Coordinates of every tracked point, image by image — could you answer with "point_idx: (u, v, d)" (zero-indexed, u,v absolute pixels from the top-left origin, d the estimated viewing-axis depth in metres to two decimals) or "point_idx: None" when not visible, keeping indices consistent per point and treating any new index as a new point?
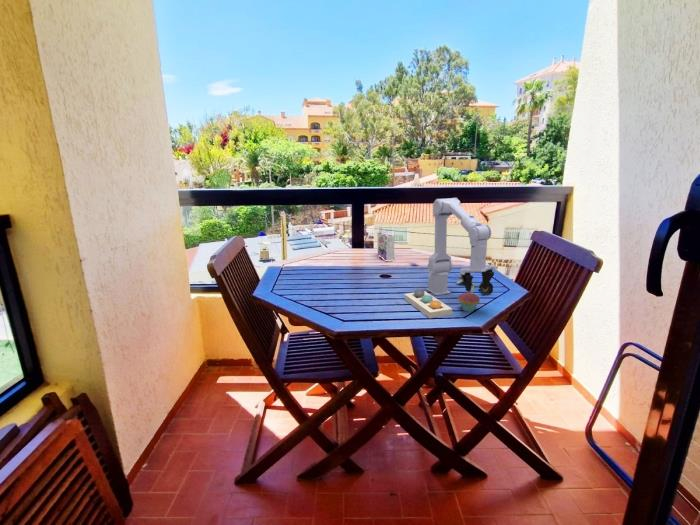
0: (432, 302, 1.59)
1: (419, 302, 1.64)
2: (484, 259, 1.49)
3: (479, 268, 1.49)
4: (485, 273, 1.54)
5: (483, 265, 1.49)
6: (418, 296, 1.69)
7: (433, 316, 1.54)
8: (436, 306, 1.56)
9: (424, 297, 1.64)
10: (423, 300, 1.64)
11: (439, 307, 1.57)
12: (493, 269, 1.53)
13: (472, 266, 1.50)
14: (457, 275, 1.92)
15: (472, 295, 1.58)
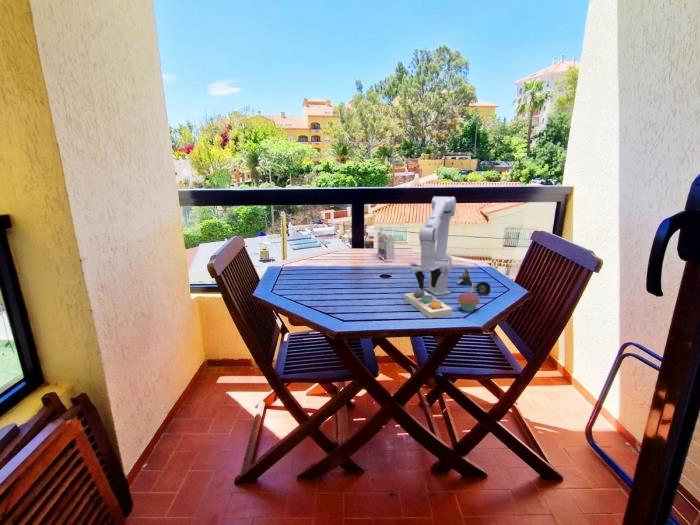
0: (432, 302, 1.59)
1: (419, 302, 1.64)
2: (432, 259, 1.58)
3: (428, 267, 1.58)
4: (433, 272, 1.63)
5: (432, 264, 1.58)
6: (418, 296, 1.69)
7: (433, 316, 1.54)
8: (436, 306, 1.56)
9: (424, 297, 1.64)
10: (423, 300, 1.64)
11: (439, 307, 1.57)
12: (443, 268, 1.63)
13: (422, 265, 1.60)
14: (457, 275, 1.92)
15: (472, 295, 1.58)
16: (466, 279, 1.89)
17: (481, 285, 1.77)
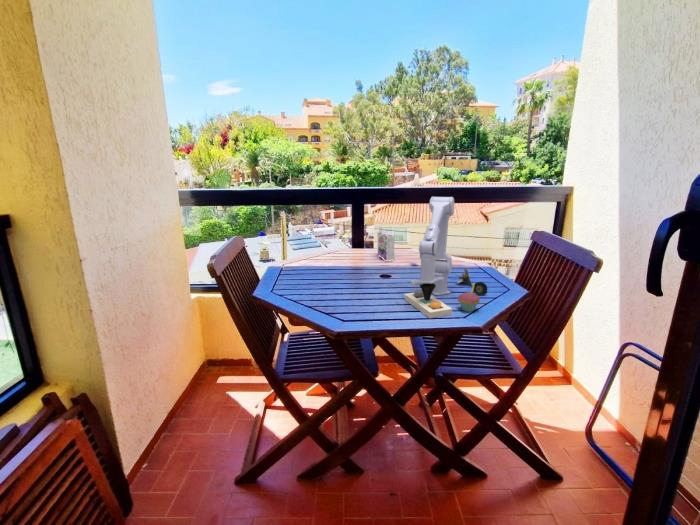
0: (432, 302, 1.59)
1: (419, 302, 1.64)
2: (432, 272, 1.59)
3: (428, 280, 1.60)
4: None
5: (432, 277, 1.60)
6: (418, 296, 1.69)
7: (433, 316, 1.54)
8: (436, 306, 1.56)
9: (424, 300, 1.65)
10: None
11: (439, 307, 1.57)
12: (442, 281, 1.64)
13: (422, 278, 1.61)
14: (457, 275, 1.93)
15: (472, 295, 1.58)
16: (465, 279, 1.89)
17: (478, 285, 1.77)
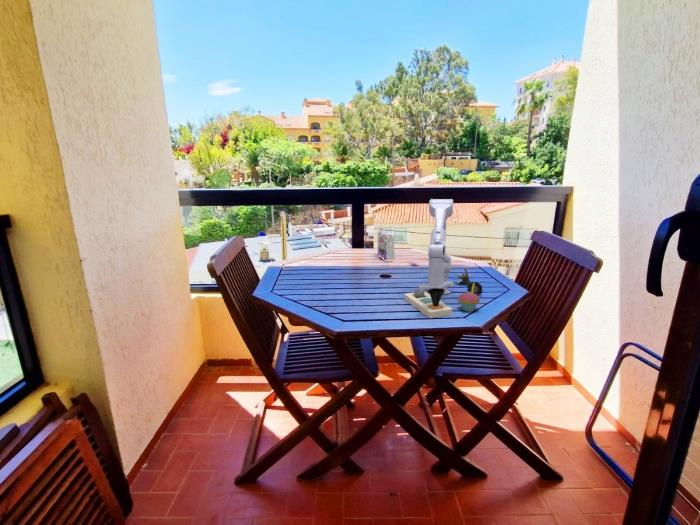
0: (432, 305, 1.59)
1: (419, 302, 1.64)
2: (441, 277, 1.53)
3: (437, 285, 1.53)
4: None
5: (440, 282, 1.53)
6: (418, 296, 1.69)
7: (433, 316, 1.54)
8: None
9: (424, 300, 1.65)
10: None
11: None
12: (451, 285, 1.57)
13: (430, 283, 1.55)
14: None
15: (472, 295, 1.58)
16: (464, 279, 1.89)
17: None
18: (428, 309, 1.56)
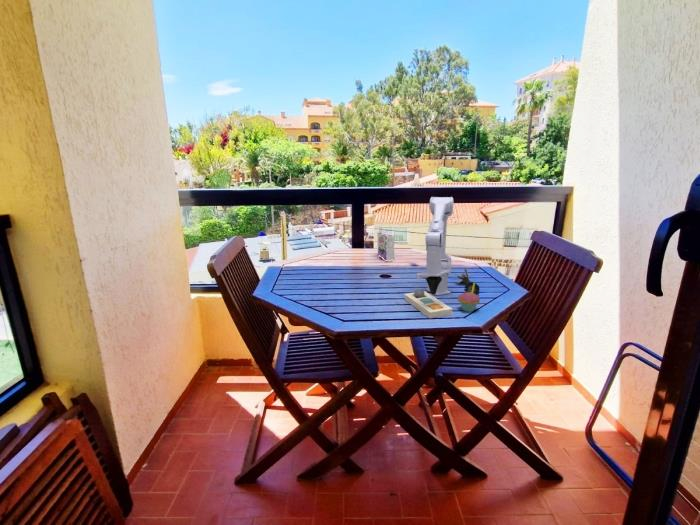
0: (432, 305, 1.59)
1: (419, 302, 1.64)
2: (438, 265, 1.54)
3: (434, 273, 1.54)
4: None
5: (438, 270, 1.54)
6: (418, 296, 1.69)
7: (433, 316, 1.54)
8: None
9: (424, 300, 1.65)
10: None
11: None
12: (449, 274, 1.59)
13: (428, 271, 1.56)
14: None
15: (472, 295, 1.58)
16: (464, 279, 1.89)
17: (471, 285, 1.77)
18: (428, 309, 1.56)
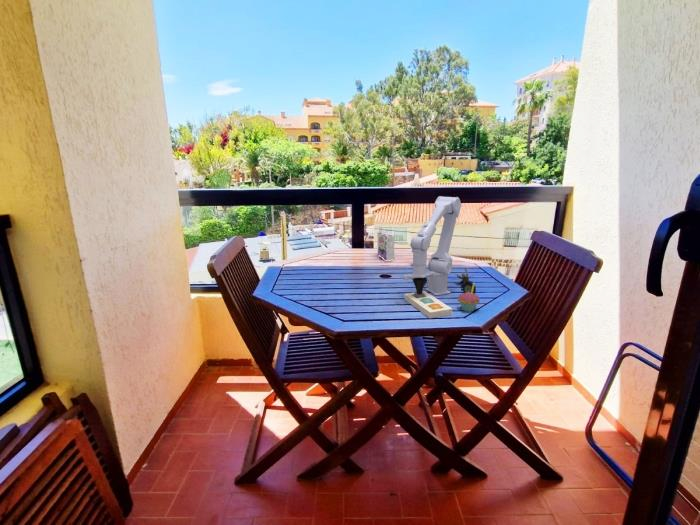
0: (432, 305, 1.59)
1: (419, 302, 1.64)
2: (424, 267, 1.66)
3: (420, 274, 1.66)
4: None
5: (423, 272, 1.66)
6: None
7: (433, 316, 1.54)
8: None
9: (424, 300, 1.65)
10: None
11: None
12: (434, 275, 1.70)
13: (414, 272, 1.67)
14: (457, 274, 1.94)
15: (472, 295, 1.58)
16: (463, 279, 1.90)
17: (467, 285, 1.77)
18: (428, 309, 1.56)
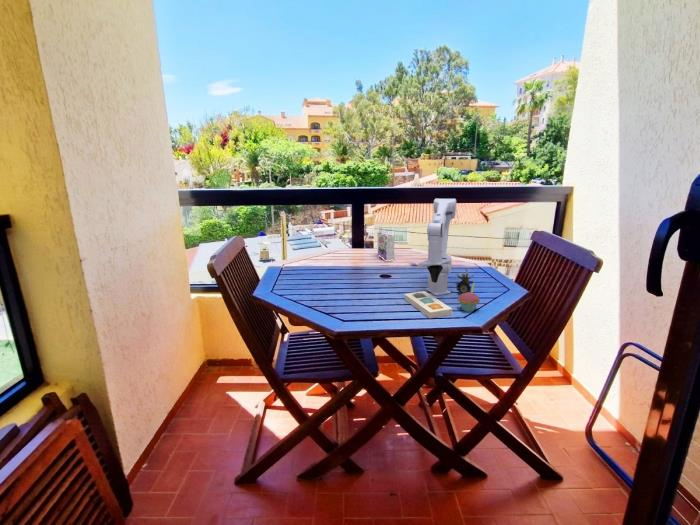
0: (432, 305, 1.59)
1: (419, 302, 1.64)
2: (440, 254, 1.62)
3: (435, 262, 1.62)
4: None
5: (439, 259, 1.62)
6: None
7: (433, 316, 1.54)
8: None
9: (424, 300, 1.65)
10: None
11: None
12: (449, 263, 1.66)
13: (429, 260, 1.64)
14: (458, 274, 1.94)
15: (472, 295, 1.58)
16: (463, 279, 1.90)
17: (463, 285, 1.78)
18: (428, 309, 1.56)
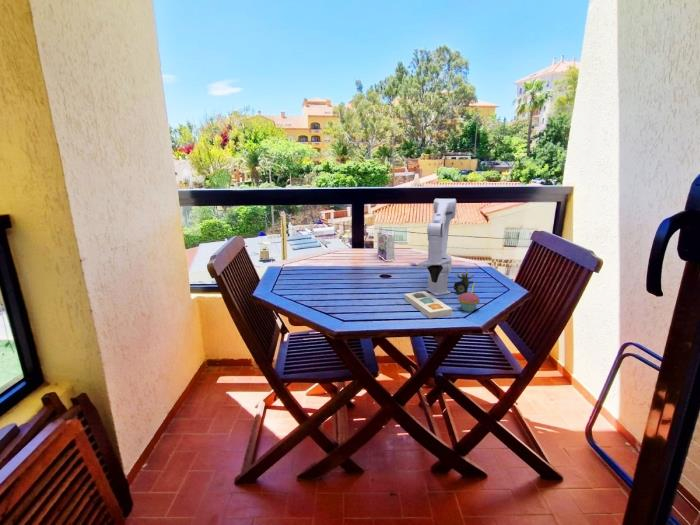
0: (432, 305, 1.59)
1: (419, 302, 1.64)
2: (440, 254, 1.62)
3: (435, 262, 1.62)
4: None
5: (439, 259, 1.62)
6: None
7: (433, 316, 1.54)
8: None
9: (424, 300, 1.65)
10: None
11: None
12: (449, 263, 1.66)
13: (429, 260, 1.64)
14: None
15: (472, 295, 1.58)
16: (463, 279, 1.90)
17: (460, 285, 1.78)
18: (428, 309, 1.56)
